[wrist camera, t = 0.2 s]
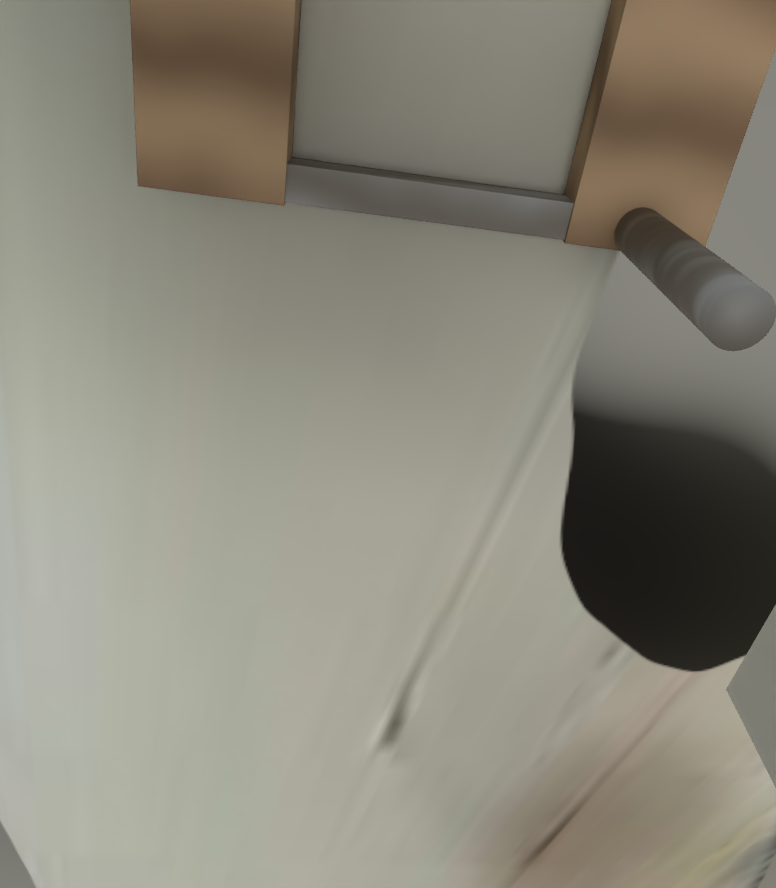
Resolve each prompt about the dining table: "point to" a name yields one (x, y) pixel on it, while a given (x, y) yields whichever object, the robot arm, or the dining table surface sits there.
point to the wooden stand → (473, 204)
